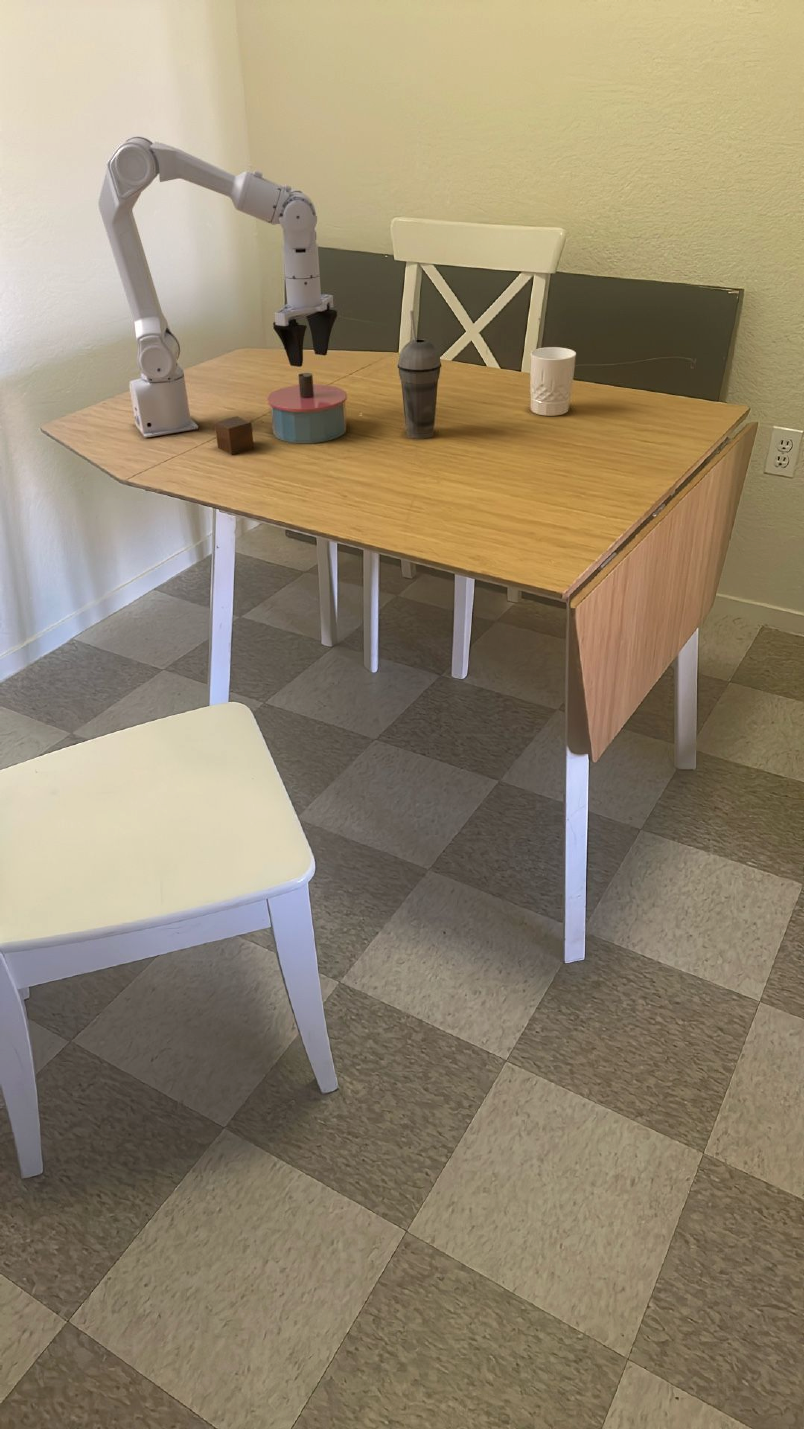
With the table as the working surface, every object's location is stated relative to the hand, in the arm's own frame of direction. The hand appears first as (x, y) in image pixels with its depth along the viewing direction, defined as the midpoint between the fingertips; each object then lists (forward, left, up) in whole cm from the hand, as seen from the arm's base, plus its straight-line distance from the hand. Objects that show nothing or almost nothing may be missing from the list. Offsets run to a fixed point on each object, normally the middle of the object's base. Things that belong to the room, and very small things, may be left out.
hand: (308, 360), depth 169 cm
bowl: (-3, -6, -10) cm, 12 cm away
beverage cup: (+13, -17, -10) cm, 24 cm away
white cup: (+39, -17, -10) cm, 44 cm away
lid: (-3, -6, -5) cm, 8 cm away
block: (-17, -8, -10) cm, 21 cm away
